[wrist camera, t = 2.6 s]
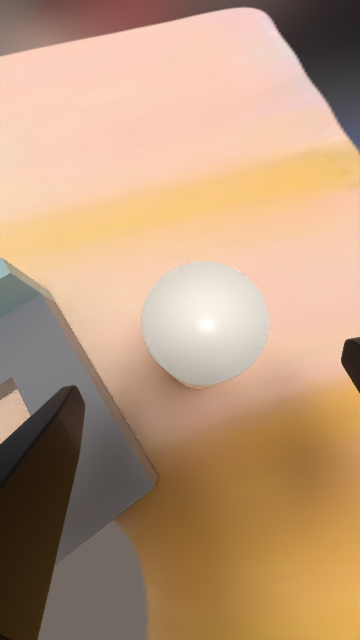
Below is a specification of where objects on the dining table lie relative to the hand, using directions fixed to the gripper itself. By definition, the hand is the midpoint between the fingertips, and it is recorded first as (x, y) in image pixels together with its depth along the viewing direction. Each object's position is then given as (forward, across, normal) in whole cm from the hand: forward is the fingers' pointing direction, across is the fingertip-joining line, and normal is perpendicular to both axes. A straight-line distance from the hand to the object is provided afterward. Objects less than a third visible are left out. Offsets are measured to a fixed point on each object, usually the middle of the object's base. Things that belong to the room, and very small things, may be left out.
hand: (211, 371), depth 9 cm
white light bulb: (+8, 0, +5) cm, 9 cm away
